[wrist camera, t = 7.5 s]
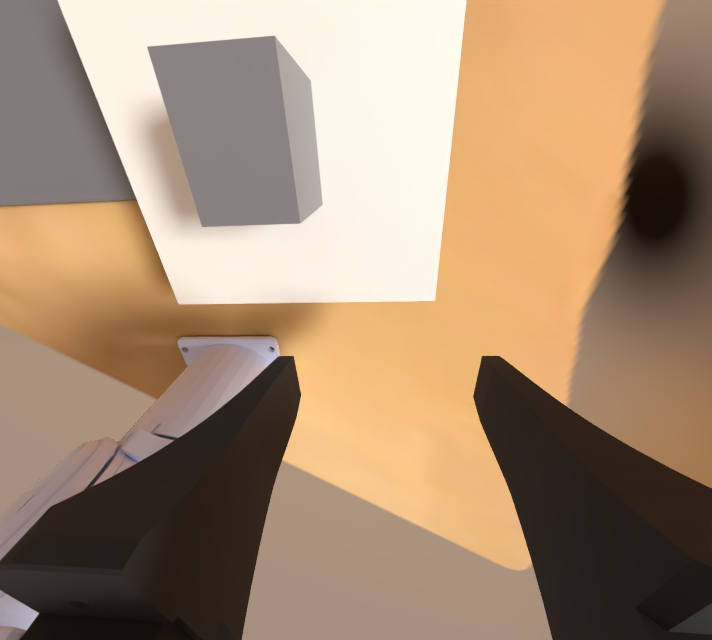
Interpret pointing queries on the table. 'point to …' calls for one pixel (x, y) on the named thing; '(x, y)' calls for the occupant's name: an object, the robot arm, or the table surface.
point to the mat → (51, 115)
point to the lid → (282, 139)
